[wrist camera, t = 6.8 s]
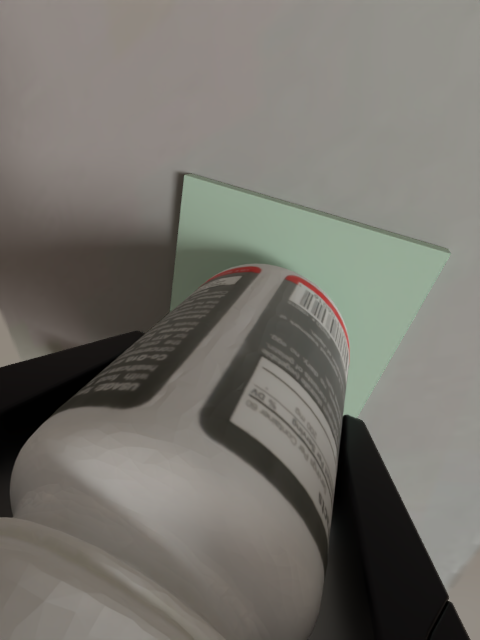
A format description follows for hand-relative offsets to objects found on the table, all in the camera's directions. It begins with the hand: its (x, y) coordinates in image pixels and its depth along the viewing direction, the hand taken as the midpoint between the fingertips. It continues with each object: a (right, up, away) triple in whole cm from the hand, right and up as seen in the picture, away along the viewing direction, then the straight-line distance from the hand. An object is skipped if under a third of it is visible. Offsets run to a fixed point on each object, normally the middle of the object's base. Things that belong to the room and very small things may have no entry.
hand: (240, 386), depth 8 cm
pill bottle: (+1, +1, +2) cm, 2 cm away
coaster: (+1, +2, +3) cm, 3 cm away
